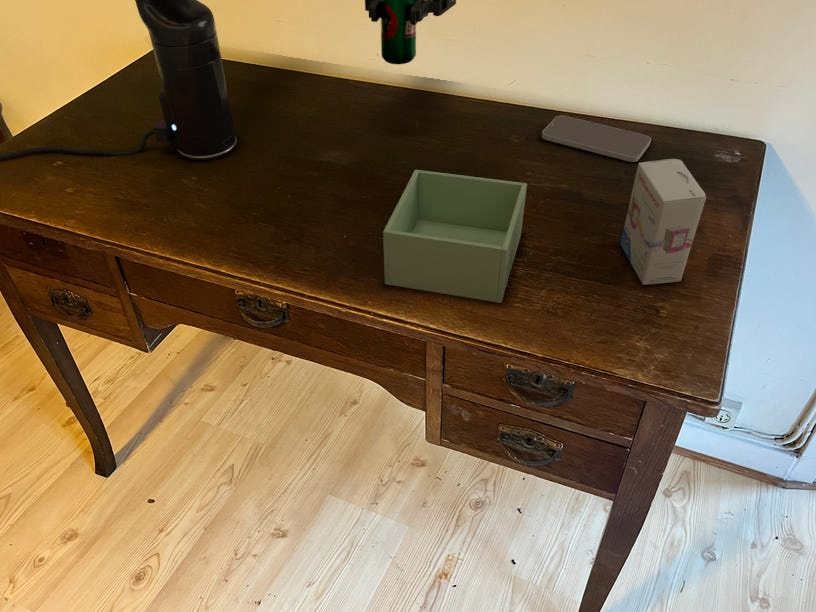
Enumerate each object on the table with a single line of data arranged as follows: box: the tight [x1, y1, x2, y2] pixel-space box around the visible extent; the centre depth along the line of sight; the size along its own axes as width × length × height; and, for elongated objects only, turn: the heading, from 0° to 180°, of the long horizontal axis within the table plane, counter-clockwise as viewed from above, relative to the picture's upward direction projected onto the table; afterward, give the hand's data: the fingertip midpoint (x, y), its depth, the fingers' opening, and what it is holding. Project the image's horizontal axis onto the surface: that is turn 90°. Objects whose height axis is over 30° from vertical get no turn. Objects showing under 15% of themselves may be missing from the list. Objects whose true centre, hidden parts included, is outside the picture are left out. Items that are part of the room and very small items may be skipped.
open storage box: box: [382, 169, 528, 304], centre depth 89 cm, size 14×14×8 cm
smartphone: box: [541, 115, 652, 163], centre depth 111 cm, size 7×1×15 cm
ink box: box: [619, 158, 707, 286], centre depth 85 cm, size 9×5×12 cm, turn 5°
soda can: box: [379, 0, 417, 65], centre depth 104 cm, size 5×5×12 cm
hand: (393, 15), depth 101 cm, fingers closed on soda can, 5 cm apart
